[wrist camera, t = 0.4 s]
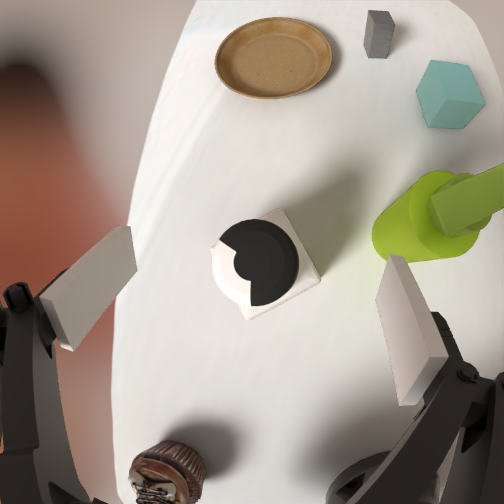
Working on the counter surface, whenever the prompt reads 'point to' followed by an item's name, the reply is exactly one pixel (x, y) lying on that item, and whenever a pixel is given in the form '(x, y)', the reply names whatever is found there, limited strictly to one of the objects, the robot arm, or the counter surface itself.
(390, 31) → the post grey
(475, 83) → the teal foam cube
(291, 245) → the medicine bottle
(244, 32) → the plant saucer
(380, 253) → the soap dispenser
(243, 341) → the counter surface
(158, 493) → the cupcake
